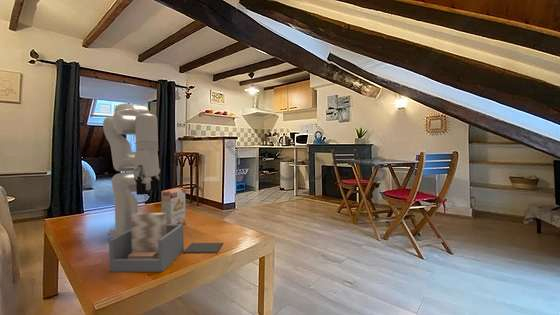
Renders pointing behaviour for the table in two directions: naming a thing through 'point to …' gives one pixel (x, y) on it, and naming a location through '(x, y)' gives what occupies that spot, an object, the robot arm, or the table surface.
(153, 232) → the tall board
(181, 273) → the table surface
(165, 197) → the cracker box
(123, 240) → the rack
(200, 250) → the mat
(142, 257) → the upper offcut
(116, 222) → the robot arm
